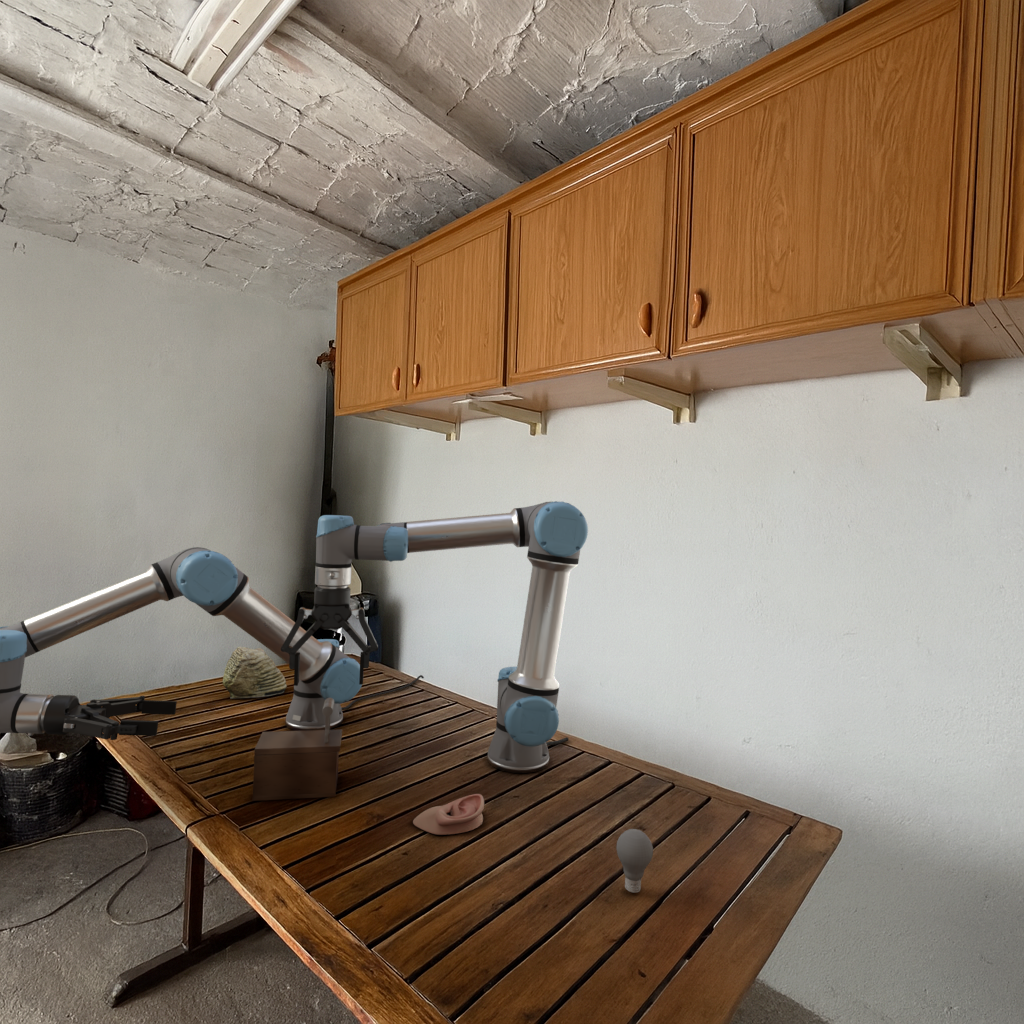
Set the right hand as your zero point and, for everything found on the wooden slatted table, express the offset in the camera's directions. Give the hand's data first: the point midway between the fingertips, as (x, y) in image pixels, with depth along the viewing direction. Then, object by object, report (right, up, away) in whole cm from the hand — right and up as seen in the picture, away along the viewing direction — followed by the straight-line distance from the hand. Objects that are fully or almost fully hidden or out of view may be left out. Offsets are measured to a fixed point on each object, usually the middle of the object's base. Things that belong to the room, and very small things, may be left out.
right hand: (329, 683), depth 138 cm
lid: (-6, -13, -1) cm, 14 cm away
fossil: (-41, -20, +60) cm, 75 cm away
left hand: (-32, -5, -6) cm, 33 cm away
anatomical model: (+27, -24, -12) cm, 38 cm away
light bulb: (+60, -26, -32) cm, 73 cm away
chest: (-7, -23, -1) cm, 24 cm away
